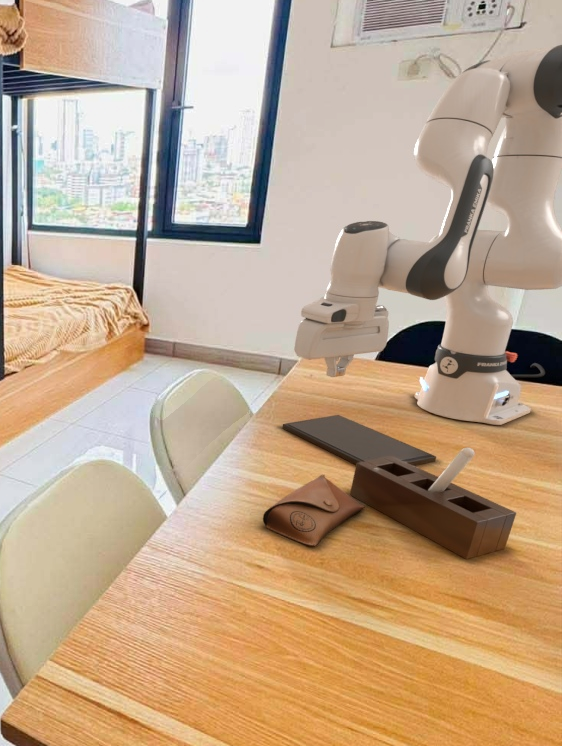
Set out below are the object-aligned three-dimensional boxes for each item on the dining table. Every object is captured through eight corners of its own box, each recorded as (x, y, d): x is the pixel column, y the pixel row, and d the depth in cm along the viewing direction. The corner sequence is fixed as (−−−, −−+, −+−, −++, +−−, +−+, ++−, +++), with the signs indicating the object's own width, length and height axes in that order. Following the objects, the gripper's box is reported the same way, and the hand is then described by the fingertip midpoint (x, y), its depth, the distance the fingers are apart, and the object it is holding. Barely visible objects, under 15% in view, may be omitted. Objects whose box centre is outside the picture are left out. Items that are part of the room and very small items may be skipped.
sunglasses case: (318, 547, 90) (300, 503, 91) (273, 550, 96) (257, 508, 96) (368, 506, 101) (352, 466, 101) (325, 511, 106) (310, 473, 107)
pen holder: (384, 487, 108) (392, 455, 105) (505, 548, 90) (517, 512, 88) (349, 494, 105) (356, 462, 103) (466, 559, 88) (477, 522, 86)
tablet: (337, 418, 136) (338, 414, 136) (435, 461, 116) (436, 455, 116) (281, 428, 132) (282, 423, 131) (374, 473, 112) (375, 468, 112)
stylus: (417, 511, 100) (473, 445, 90) (422, 519, 98) (479, 453, 89) (407, 510, 100) (462, 444, 90) (411, 518, 98) (468, 452, 89)
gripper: (375, 301, 127) (361, 366, 132) (294, 308, 121) (283, 376, 126) (403, 307, 122) (388, 375, 126) (321, 315, 116) (308, 386, 120)
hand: (335, 375), depth 126 cm, fingers closed
